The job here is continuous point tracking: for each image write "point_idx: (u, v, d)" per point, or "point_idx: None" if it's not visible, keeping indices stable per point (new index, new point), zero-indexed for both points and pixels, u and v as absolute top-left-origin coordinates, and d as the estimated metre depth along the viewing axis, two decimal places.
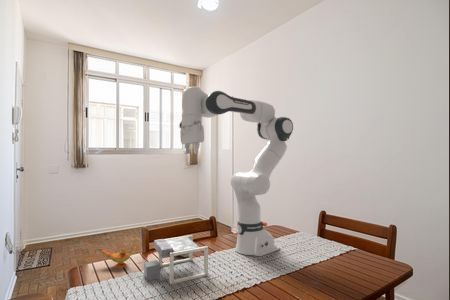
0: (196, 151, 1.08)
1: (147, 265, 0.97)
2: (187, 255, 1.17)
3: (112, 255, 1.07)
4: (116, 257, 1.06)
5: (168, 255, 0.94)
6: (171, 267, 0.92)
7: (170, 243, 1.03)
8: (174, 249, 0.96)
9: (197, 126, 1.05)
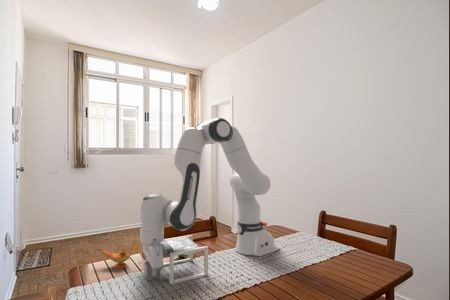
0: (154, 273, 0.95)
1: (147, 265, 0.97)
2: None
3: (112, 255, 1.07)
4: (116, 257, 1.05)
5: (168, 255, 0.94)
6: (171, 267, 0.92)
7: (170, 243, 1.03)
8: (174, 249, 0.96)
9: (154, 251, 0.90)
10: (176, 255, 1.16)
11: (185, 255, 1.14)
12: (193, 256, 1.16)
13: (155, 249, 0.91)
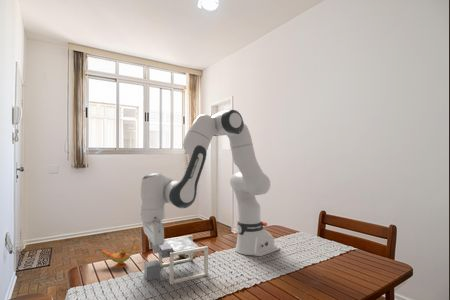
0: (155, 251, 0.96)
1: (147, 265, 0.97)
2: None
3: (112, 255, 1.07)
4: (116, 257, 1.05)
5: (168, 255, 0.94)
6: (171, 267, 0.92)
7: (170, 243, 1.03)
8: (174, 249, 0.96)
9: (155, 227, 0.91)
10: None
11: (185, 255, 1.15)
12: (193, 256, 1.16)
13: (156, 226, 0.91)
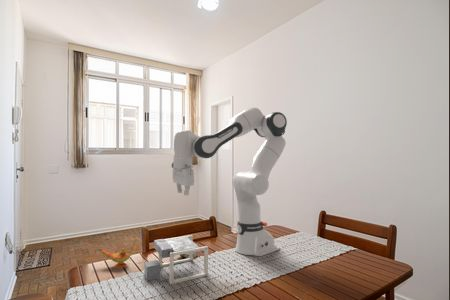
0: (187, 193, 1.14)
1: (147, 265, 0.97)
2: None
3: (112, 255, 1.07)
4: (116, 257, 1.05)
5: (168, 255, 0.94)
6: (171, 267, 0.92)
7: (170, 243, 1.03)
8: (174, 249, 0.96)
9: (187, 171, 1.11)
10: None
11: (186, 255, 1.15)
12: (194, 256, 1.16)
13: (188, 170, 1.11)
